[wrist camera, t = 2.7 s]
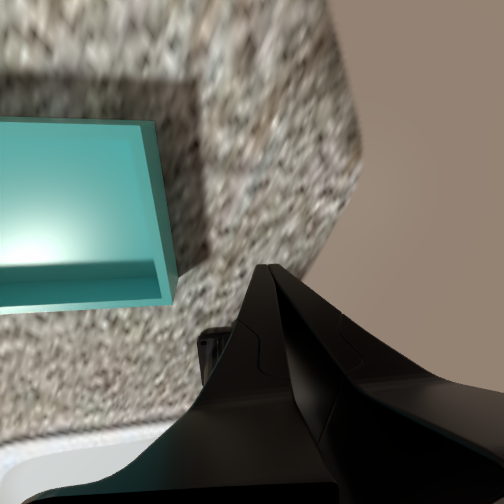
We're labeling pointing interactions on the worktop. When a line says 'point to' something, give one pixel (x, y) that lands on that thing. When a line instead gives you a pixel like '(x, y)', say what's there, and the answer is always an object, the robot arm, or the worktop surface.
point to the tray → (82, 216)
